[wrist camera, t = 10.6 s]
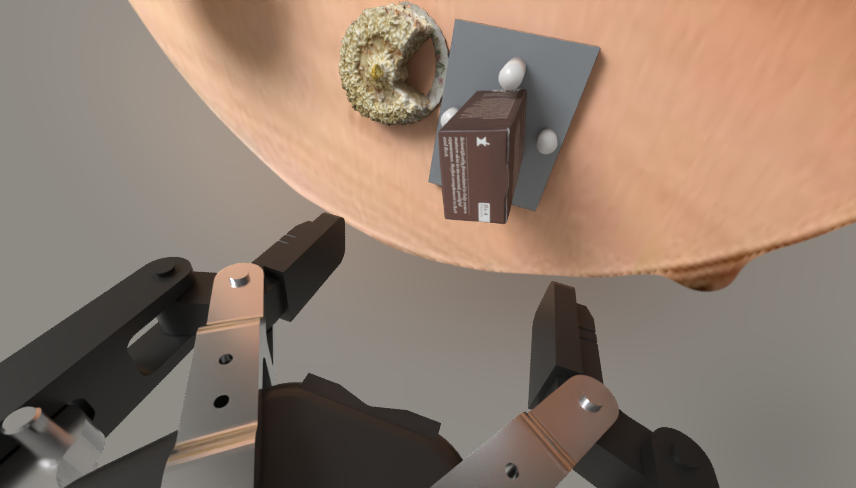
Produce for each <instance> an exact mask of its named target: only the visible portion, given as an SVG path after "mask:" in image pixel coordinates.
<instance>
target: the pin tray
mask: <svg viewBox="0 0 856 488" xmlns="http://www.w3.org/2000/svg"><path fill="white" fill-rule="evenodd" d="M599 50H600V47H598V46H593V45H588V44H583V43H578V42H573V41H568V40H563V39H558V38H553V37H547V36H542V35H537V34H532V33H527V32H522V31H517V30H512V29H507V28H502V27H496V26H491V25H486V24H481V23H476V22H471V21H466V20H461V19H455V24H454V30H453V36H452V42H451V48H450V54H449V60H448V66H447V72H446V79H445V85H444V91H443V97H442V103H441V109H440V115H439V121H438V127H437V133H436V139H435V145H434V151H433V157H432V163H431V169H430V175H429V181H428V182H430V183H433V184H437V185H441V186H442V181H441V171H440V159H439V143H438V131H439V130H440V129H441V128H442V127H443V126H444V125H445V124H446V123H447V122H448V121H449V120H450V119H451V118H452V117H453V116H454V115H455V113H456V112H457V111H458V110H459V109H460V108H461V107H462V106H463V105H464V104H465V103H466V102H467V101H468V100H469V99H470V98H471V97H472V96H473V95H474V94H475V93H476V91H483V90H501V89H505V90H514V89H516V88H519V89H527V104H526V123H525V139H524V153H523V159H522V163H521V167H520V172H519V176H518V180H517V184H516V188H515V191H514V196H513V200H512V205H514V206H518V207H522V208H525V209H529V210H533V211H536V208H537V206H538V203H539V201H540V198H541V196H542V193H543V191H544V188H545V186H546V183H547V181H548V178H549V176H550V173H551V171H552V168H553V166H554V163H555V161H556V158H557V156H558V153H559V151H560V148H561V146H562V143H563V141H564V138H565V136H566V133H567V130H568V128H569V125H570V123H571V120H572V118H573V115H574V113H575V110H576V108H577V105H578V103H579V100H580V98H581V95H582V93H583V90H584V88H585V85H586V83H587V80H588V78H589V75H590V73H591V70H592V68H593V65H594V63H595V60H596V58H597V55H598V52H599Z"/></svg>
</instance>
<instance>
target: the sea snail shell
mask: <svg viewBox="0 0 856 488" xmlns="http://www.w3.org/2000/svg"><path fill="white" fill-rule="evenodd" d="M388 2H389V1H388ZM399 3H400V1H399ZM401 4H402V5H401ZM405 4H406V6H407V5H408V4H409V5H410V6H411V7H410V8H408V7H405ZM429 37H432V40H433V45H434V47H435V55H436V71H435V78H434V81H433V85H432V87H431V89H430V91H429V93H428V95H427V96H425V95H424V94H421V93H419V92H418V91H417V90H416V89H414V88H413V87H412V86H409V85H407V84H406V82H405V81H406V79H408V74H409V73H408V70H407V67H406V64H407V62H408V61H409V59H410V58H411V57H412V56H413V54H415V52H416V51H417V50H418V48H420V47H421V45H422V44H423V43H424V42H425V41H426V40H427V39H428V38H429ZM341 42H343V46H342V47H341V50H339V51H340V54H341V58H340V59H341V61H340V63H339V73H340V75H341V80H342V88H343V89H345V90H346V91H347V93H346V95H347V96H348V98H347V99H348V100H349V102H352V106H351V107H352V108H354V110H355V111H359V112H360V113H361V115H362V116H366V117H367V118H369V117H370V118H371V120H372V121H374V120H375V121H376V122H379V121H380V122H381V123H382V124H388V125H389V126H390V125H392V124H393V125H394V124H395V125H396V124H402V125H405V124H408V123H409V124H410V123H411V124H412V123H415V122H416V121H420V120H421V119H422V118H424V117H427V116H428V114H430V113H431V112H433V110H434V109H435V107H436V106H437V105H438V104H439V103H440V100H441V98H442V96H443V91H444V85H445V79H446V72H447V66H448V60H449V58H448V49H447V47H446V44H445V38H444V37H443V35H442V33H441V30H440V28H439V26H437V25H436V23H435V21H434V20H433V18H432V17H430V16H428V14H427V12H426V11H425V10H423V9H420V7H419V6H417V5H413V4H411V3H409V2H406V1H405V2H403V3H400V4H399V5H395V4H390V5H386V6H385V7H384V6H380V7H376V8H372V9H366V10H364V11H363V13H362V15H360V16H359V17H358V18H357V20H356V21H353V22H352V24H351V25H350V26H349V27H348V30H347V31H346V35H345V36H344V38H343V40H342V41H341Z"/></svg>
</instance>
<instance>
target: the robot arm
mask: <svg viewBox="0 0 856 488" xmlns="http://www.w3.org/2000/svg"><path fill="white" fill-rule="evenodd" d="M344 253H345V220H344V218H342V217H339V216H336V215H332V214H329V213H323V214H321V215H320V216H319V217H318V218H317V219H316V220H314V221H313V222H311V221H307V222H305V223H302V224H299V225H297V226H295V227H294V228H293V229H292V230H290V231H289V232H288V233H287V235H284V236H283V237H282V238H281V239H280V240H279V241H277V242H276V243H275V244H274V245H272V246H271V247H270V248H269V249H268V250H266V251H265V252H264V253H263V254H262V255H260V256H259V257H258V258H257V259H256V260H254V261H253V262H252V263H237V264H233V265H230V266H228V267H226V268H224V269H222V270H221V271H220V272H218V273H209V272H194V271H193V269H192V266H191V264H190V262H189V261H188V260H186V259H184V258H180V257H167V258H161V259H158V260H155V261H152V262H151V263H148V264H147V265H145V266H143V267H142V268H141V269H139V270H138V271H136V272H135V273H133V274H132V275H130V276H128V277H127V278H126V279H124V280H123V281H121V282H120V283H118V284H117V285H115V286H114V287H112V288H111V289H109V290H108V291H106V292H105V293H103V294H102V295H100V296H99V297H97V298H96V299H94V300H93V301H91V302H90V303H88V304H87V305H85V306H84V307H82V308H81V309H79V310H78V311H77V312H75V313H74V314H72V315H71V316H69V317H68V318H66V319H65V320H63V321H62V322H60V323H59V324H57V325H56V326H54V327H53V328H51V329H50V330H48V331H47V332H45V333H44V334H42V335H41V336H40V337H38V338H36V339H35V340H34V341H32V342H30V343H29V344H28V345H26V346H25V347H23V348H22V349H20V350H19V351H17V352H16V353H14V354H13V355H11V356H10V357H8V358H7V359H5V360H4V361H2V362H1V363H0V488H555V487H556V486H557V485H558V484H559V483H560V482H561V481H562V480H563V479H564V477H566V475H567V474H568V473H569V472H570V471H571V470H572V469H573V470H574V471H575V472H577V473H578V474H580V475H581V476H582V477H583V478H585V479H586V480H587V481H589V482H590V483H591V484H593V485H594V486H595V487H597V488H719V484H718V481H717V478H716V475H715V472H714V468H713V466H712V464H711V462H710V460H709V458H708V457H707V455H706V454H705V452H704V451H703V450H702V449H701V448H700V446H698V444H697V443H695V442H694V441H693V440H692V439H691V438H689V437H688V436H687V435H685V434H683V433H682V432H680V431H678V430H675V429H672V428H667V427H661V428H658V429H656V430H655V431H654V432H652V431H650V430H649V429H647V428H646V427H644V426H643V425H641V424H639V423H638V422H636V421H635V420H633V419H632V418H630V417H628V416H627V415H626V414H624V413H623V412H622V411H621V410H620V409H619V408H618V404H617V401H616V399H615V397H614V396H613V394H612V393H611V392H610V390H609V389H608V388H607V387H606V386H605V385H604V384H603V379H602V371H601V365H600V358H599V351H598V345H597V338H596V334H595V325H594V319H593V317H592V315H591V314H590V312H589V310H588V309H587V307H586V306H584V305H580V304H577V303H576V294H575V288H574V287H571V286H568V285H564V284H561V283H558V282H554V281H552V282H551V283H550V285H549V287H548V289H547V291H546V293H545V295H544V297H543V299H542V301H541V303H540V305H539V307H538V309H537V311H536V313H535V317H534V321H533V326H532V344H531V345H532V346H531V363H530V384H529V401H528V408H529V409H531V411H530V412H528V413H526V412H523V413H521V414H520V415H518V416H517V417H516V418H515V419H513V420H512V421H511V422H510V423H508V424H507V425H506V426H505V427H504V428H502V429H501V430H500V431H499V432H497V433H496V434H495V435H494V436H492V437H491V438H490V439H489V440H488V441H487V442H485V443H484V444H483V445H481V446H480V447H479V448H478V449H477V450H476V451H474V452H473V453H472V454H470V455H469V456H468V457H467V458H466V459H464V460H463V459H462V458H461V456H460V455H459V453H458V452H457V451H456V450H455V448H454V447H453V446H452V445H451V444H450V443H449V442H448V441H447V440H446V439H444V438H443V437H442V436H440V435H439V434H438V433H439V429H440V425H441V423H439V422H437V421H434V420H431V419H429V418H426V417H423V416H420V415H418V414H415V413H413V412H410V411H408V410H400V409H390V408H380V407H372V406H368V405H367V404H365V403H364V402H362V401H361V400H360V399H358V398H357V397H356V396H354V395H353V394H352V393H350V392H349V391H348V390H346V389H345V388H343V387H342V386H341V385H339V384H337V383H334V382H331V381H329V380H326V379H324V378H321V377H318V376H316V375H313V374H310V373H308V375H307V376H306V378H305V379H304V381H303V382H302V383H301V382H295V383H294V382H293V383H283V384H278V385H277V384H276V374H275V335H274V323H276V321H277V320H278V319H279V318H281V319H283V320H286V321H289V322H291V321H292V320H293V319H294V318H295V317H296V315H297V314H298V313H299V312H300V311H301V309H302V308H303V307H304V306H305V305H306V303H307V302H308V301H309V300H310V299H311V298H312V296H313V295H314V294H315V293H316V292H317V290H318V289H319V288H320V287H321V286H322V284H323V283H324V282H325V281H326V280H327V279H328V277H329V276H330V275H331V274H332V273H333V271H334V270H335V269H336V268H337V267H338V265H339V264H340V263H341V261H342V259H343V257H344ZM155 317H157V319H158V321H159V322H158V323H157V324H155V326H153V327H152V328H151V329H150V330H148V331H147V332H146V333H145V334H144V335H143V336H141V337H140V338H139V339H138V340H137V341H136V342H134V343H133V344H132V345H131V346H130V347H129V348H127V346H128V343H129V341H130V340H131V338H132V337H133V336H134V335H135V334H136V333H137V332H138V331H139V330H141V329H142V328H143V327H144V326H145V325H147V324H148V323H149V322H150V321H152V320H153V319H154V318H155ZM193 348H194V350H193V355H192V361H191V366H190V371H189V377H188V382H187V387H186V392H185V398H184V403H183V408H182V413H181V419H180V424H179V429H178V430H177V431H175V432H173V433H170V434H169V435H166V436H164V437H162V438H160V439H158V440H156V441H154V442H152V443H150V444H148V445H146V446H144V447H141V448H139V449H137V450H135V451H133V452H131V453H129V454H127V455H125V456H123V457H121V458H119V459H116V460H115V461H112V462H110V463H108V464H106V465H104V466H102V467H100V468H98V469H96V468H97V465H98V463H97V460H98V458H99V456H100V455H101V453H102V451H103V449H104V445H105V438H106V437H107V436H108V435H109V434H110V433H111V432H112V431H113V430H114V429H115V428H116V427H117V426H118V425H119V424H120V422H122V421H123V419H125V418H126V417H127V415H129V413H130V412H131V411H132V410H133V409H134V408H135V407H136V406H137V405H138V404H139V403H140V402H141V401H142V400H143V399H144V398H145V397H146V396H147V395H148V394H149V393H150V392H151V391H152V390H153V389H154V388H155V387H156V386H157V385H158V384H159V383H160V382H161V381H162V380H163V379H164V378H165V377H166V376H167V375H168V374H169V372H171V371H172V369H173V368H174V367H175V366H176V365H177V364H178V363H179V362H180V361H181V360H182V359H183V358H184V357H185V356H186V355H187V354H188V353H189V352H190V351H191V350H192V349H193Z"/></svg>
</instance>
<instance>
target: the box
mask: <svg viewBox="0 0 856 488" xmlns="http://www.w3.org/2000/svg"><path fill="white" fill-rule="evenodd" d="M526 104H527V89H519V88H516V89H514V90H505V89H501V90H483V91H476V93H475V94H474V95H473V96H472V97H471V98H470V99H469V100H468V101H467V102H466V103H465V104H464V105H463V106H462V107H461V108H460V109H459V110H458V111H457V112H456V113H455V115H454V116H453V117H452V118H451V119H450V120H449V121H448V122H447V123H446V124H445V125H444V126H443V127H442V128H441V129H440V130H439V131H438V143H439V159H440V171H441V181H442V193H443V204H444V214H445V219H451V220H463V221H478V222H490V223H500V224H505V223H506V222H507V220H508V216H509V212H510V208H511V205H512V200H513V196H514V191H515V188H516V184H517V180H518V176H519V172H520V167H521V163H522V159H523V153H524V139H525V123H526Z"/></svg>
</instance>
